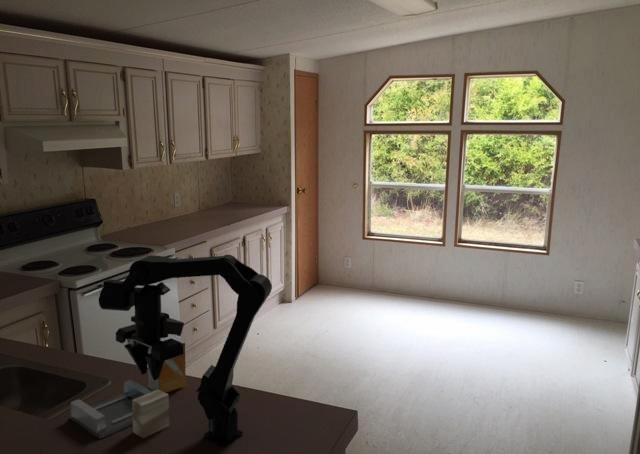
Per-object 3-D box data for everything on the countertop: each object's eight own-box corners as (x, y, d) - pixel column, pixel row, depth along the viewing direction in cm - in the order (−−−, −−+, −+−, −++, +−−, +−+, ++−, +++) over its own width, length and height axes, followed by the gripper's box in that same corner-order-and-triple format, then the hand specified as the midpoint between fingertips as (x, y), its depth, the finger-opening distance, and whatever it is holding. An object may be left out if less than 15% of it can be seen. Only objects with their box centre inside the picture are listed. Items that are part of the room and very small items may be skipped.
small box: (159, 396, 135) (157, 349, 133) (148, 387, 139) (146, 342, 137) (186, 386, 140) (185, 342, 139) (175, 379, 145) (174, 335, 143)
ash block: (169, 426, 121) (168, 394, 119) (143, 438, 115) (142, 405, 114) (159, 420, 123) (158, 389, 122) (133, 432, 118) (132, 400, 116)
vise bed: (162, 411, 127) (162, 394, 127) (99, 439, 114) (98, 420, 114) (131, 393, 136) (130, 377, 135) (69, 418, 123) (68, 400, 122)
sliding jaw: (157, 405, 127) (157, 394, 127) (150, 408, 126) (150, 396, 125) (131, 390, 134) (130, 379, 134) (124, 393, 133) (123, 382, 132)
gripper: (202, 312, 115) (203, 376, 118) (154, 296, 127) (156, 355, 129) (160, 324, 107) (162, 394, 109) (113, 306, 118) (115, 369, 120)
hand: (149, 376), depth 117 cm, fingers open, 4 cm apart
